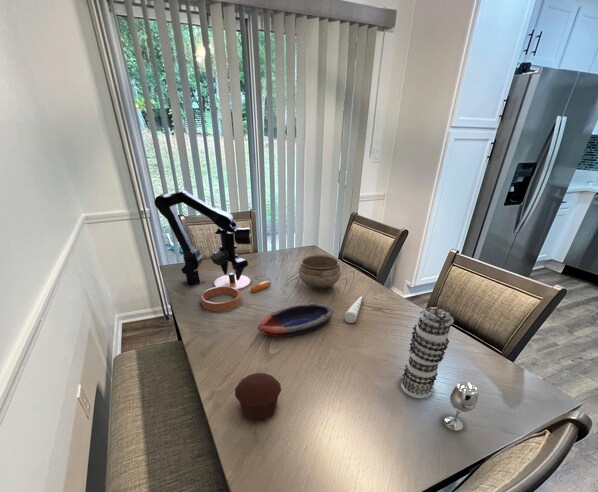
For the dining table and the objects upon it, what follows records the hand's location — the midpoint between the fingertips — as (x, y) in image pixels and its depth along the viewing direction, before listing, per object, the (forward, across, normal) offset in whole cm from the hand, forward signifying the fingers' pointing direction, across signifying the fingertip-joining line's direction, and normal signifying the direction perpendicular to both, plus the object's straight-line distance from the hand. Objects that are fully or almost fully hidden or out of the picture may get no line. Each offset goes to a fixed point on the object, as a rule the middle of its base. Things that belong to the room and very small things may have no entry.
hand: (231, 277), depth 149 cm
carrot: (+3, +14, +5) cm, 15 cm away
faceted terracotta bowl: (+3, +12, -15) cm, 19 cm away
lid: (+3, 0, 0) cm, 3 cm away
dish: (+4, +47, -7) cm, 48 cm away
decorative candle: (+4, +95, -8) cm, 95 cm away
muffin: (+4, +68, -44) cm, 81 cm away
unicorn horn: (+4, +56, +18) cm, 59 cm away
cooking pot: (+4, +31, +26) cm, 41 cm away
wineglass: (+4, +108, -14) cm, 109 cm away
